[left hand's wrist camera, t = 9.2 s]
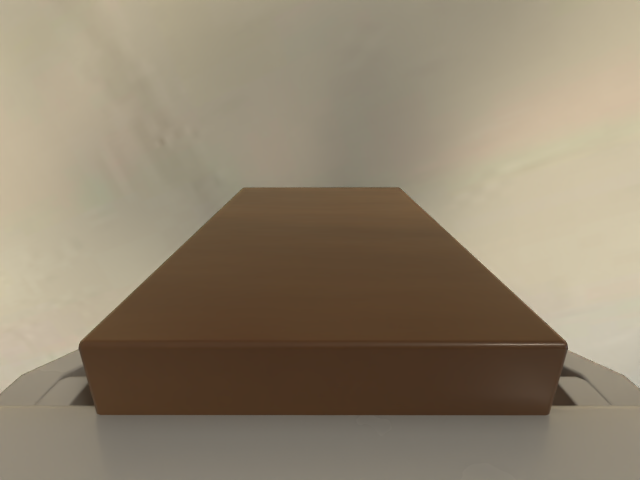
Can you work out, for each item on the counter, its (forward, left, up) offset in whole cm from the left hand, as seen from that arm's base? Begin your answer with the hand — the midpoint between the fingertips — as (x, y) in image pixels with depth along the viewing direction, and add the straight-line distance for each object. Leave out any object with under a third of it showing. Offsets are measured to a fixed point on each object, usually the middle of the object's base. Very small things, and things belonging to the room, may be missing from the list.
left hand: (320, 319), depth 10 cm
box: (+10, 0, -5) cm, 12 cm away
